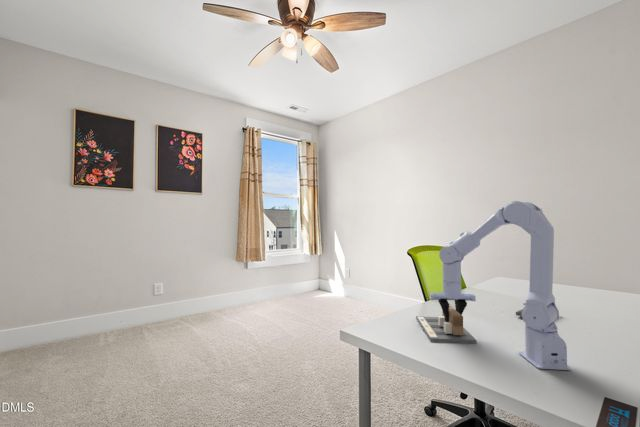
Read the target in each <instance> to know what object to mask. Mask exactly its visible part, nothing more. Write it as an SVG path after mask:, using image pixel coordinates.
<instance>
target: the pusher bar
mask: <svg viewBox="0 0 640 427" xmlns="http://www.w3.org/2000/svg"><path fill="white" fill-rule="evenodd" d="M441 314H442V315H441V316H444V313H443V310H442V313H441ZM449 322H450V323H451V324H452V334H453V335H463V327H464V316H463V314H462V315H461V314H460V313H459V312H457V311H456V308H454V307H453V306H452V305H449Z"/></svg>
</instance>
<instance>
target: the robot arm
mask: <svg viewBox="0 0 640 427" xmlns="http://www.w3.org/2000/svg"><path fill="white" fill-rule="evenodd" d="M506 225H515V226H518V227H520V228H521V229H522V230H524V231H525V232H526V233H527V234H529V235H530V251H529V252H530V253H529V254H530V256H529V257H530V259H529V292H528V294H527V298H526V300H525V303H526V306H524V307H525V308H524V307H523V308H522V309H523V311H522V317H521V318H522V320H523V322H524V340H525V341H524V342H525V345H524V346H525V350H524V351H521V350H519V351H518V354H520V355H521V356H522V357H523V358H524V359H525V360H527V361H528V362H529V363H530V364H532V365H533V366H534V367H536V369H539V370H541V369H542V370H559V371H561V370H562V371H571V370H572V368H571V367H570V366H568V349H567V348H568V347H567V343H566V341H565V340H564V339H563V337H561V336H560V334H559V332H558V330H559V329H558V327H557V324H556V323H555V322H556V321H557V320H558V319H559V317H560V311H559V308H558V307H557V306H556V298H555V296H554V294H553V283H554V282H553V280H554V278H553V277H554V241H555V238H554V237H555V235H554V234H555V230H554V229H555V228H554V227H553V225H552V223H550V221H549V220H548V218H547V217H546V215H545V214H544V211H543V210H542V208H540V207H539V206H537V205H535V204H534V203H533V202H529V201H528V202H524V201H520V200H519V201H518V200H514V201H510V202H508V203H506V205H505V206H503V207H500V208H499V209H498V210H496V211H495V213H493V214H492V215H491V216H490V217H488V219H486V220H485V221H484V222H483V223H481V224H480V225H479V226H478V227H476V229H475V230H474V231H472V232H471V231H466V232H461V233H460V234H459V237H457V239H455V240H454V241H451V242H449V245H447V246H446V245H445V246H442V248H441V249H440V250H439V253H438V255H439V259H440V260H441V262H442V292H432V293H431V292H430V293H429V295H428V296H429V300H431V301H434V300H437V302H438V303H439V305H440V307H441V309H442V310H443V313H444V318H445V321H446V322H449V306H450V303H449V302H448V301H454V306H455V310H456V311H457V312H459V313H460V314H461V315H462V316H463V313H464V311H465V309H466V307H467V304H468V302H467V301H469V302H470V301H471V302H476V295H475V294H474V293H472V294H471V293H462V261H463V260H464V259H465V257H466V256H468V255H469V254H470V253H471V252H472V251H474V250H476V249H477V248H479V247H480V246H481V240H482V239H483V238H485V237H486V236H488V235H490V234H491V233H493V232H494V231H496V230H498V229H499V228H500V227H501V226H506Z"/></svg>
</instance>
